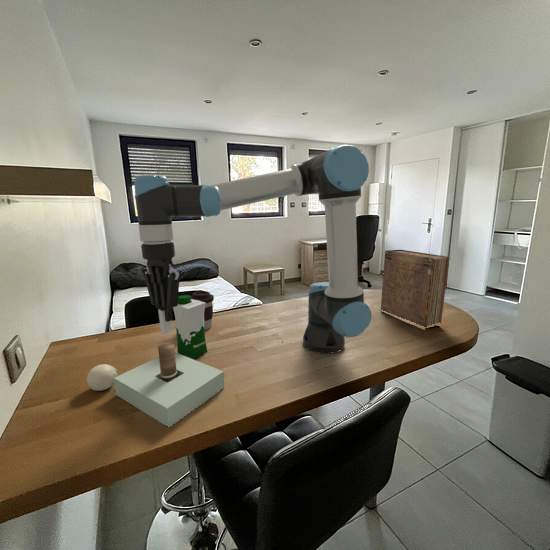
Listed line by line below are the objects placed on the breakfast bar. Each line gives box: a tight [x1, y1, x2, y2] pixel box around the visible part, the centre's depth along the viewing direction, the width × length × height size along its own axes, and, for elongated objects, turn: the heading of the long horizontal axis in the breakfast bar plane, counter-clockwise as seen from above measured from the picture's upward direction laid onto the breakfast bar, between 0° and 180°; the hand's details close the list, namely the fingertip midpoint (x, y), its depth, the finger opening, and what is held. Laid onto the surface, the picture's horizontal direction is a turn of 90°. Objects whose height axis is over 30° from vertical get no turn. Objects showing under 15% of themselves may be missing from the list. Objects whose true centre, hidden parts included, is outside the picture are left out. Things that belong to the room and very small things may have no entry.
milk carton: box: [172, 294, 208, 360], centre depth 97 cm, size 9×9×20 cm
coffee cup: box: [190, 290, 215, 331], centre depth 120 cm, size 10×10×15 cm
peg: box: [157, 343, 177, 383], centre depth 77 cm, size 4×4×13 cm
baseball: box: [86, 363, 119, 392], centre depth 79 cm, size 7×7×7 cm
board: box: [113, 351, 225, 428], centre depth 78 cm, size 22×18×5 cm
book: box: [380, 249, 451, 327], centre depth 127 cm, size 25×9×30 cm, turn 23°
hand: (167, 331), depth 76 cm, fingers closed
